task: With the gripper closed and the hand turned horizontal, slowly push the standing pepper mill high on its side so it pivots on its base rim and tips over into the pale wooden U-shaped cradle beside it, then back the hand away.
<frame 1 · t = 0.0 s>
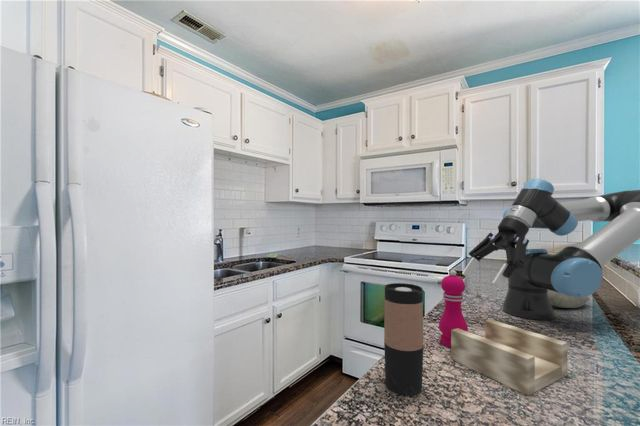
hand: (479, 280, 90), 15 cm above the countertop, tool tilted 35°, fingers open, 13 cm apart
travel mug: (403, 386, 61), on the countertop
rock: (564, 306, 117), on the countertop
pepper mill: (453, 344, 81), on the countertop
u rest: (506, 366, 69), on the countertop
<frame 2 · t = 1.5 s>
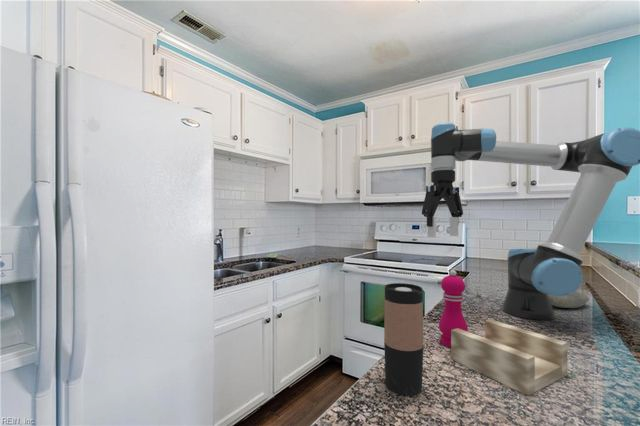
hand: (443, 236, 101), 28 cm above the countertop, tool pointing down, fingers open, 10 cm apart
nothing on the countertop moved.
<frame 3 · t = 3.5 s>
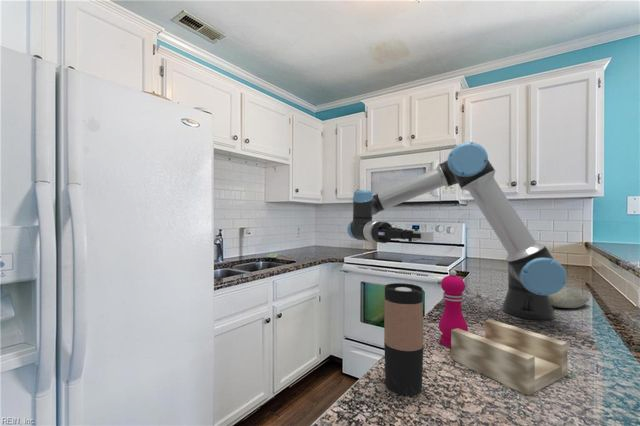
hand: (431, 236, 88), 29 cm above the countertop, tool horizontal, fingers closed
nothing on the countertop moved.
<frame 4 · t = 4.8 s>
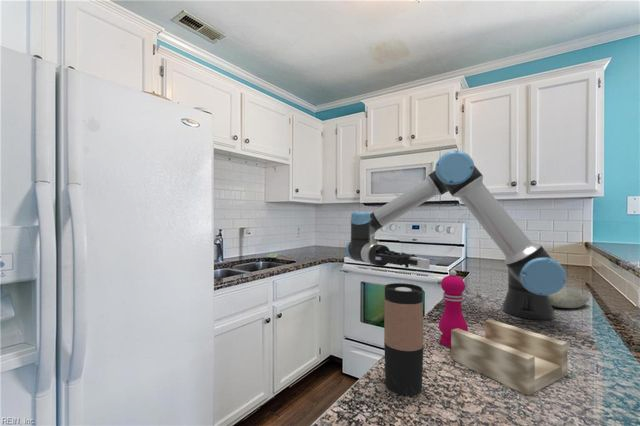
hand: (427, 264, 89), 20 cm above the countertop, tool horizontal, fingers closed
nothing on the countertop moved.
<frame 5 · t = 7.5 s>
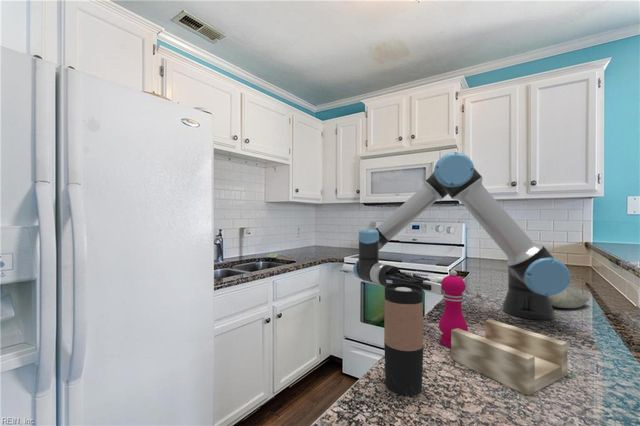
hand: (442, 289, 84), 14 cm above the countertop, tool horizontal, fingers closed
pepper mill: (453, 344, 81), on the countertop, touching gripper
everything else where it was.
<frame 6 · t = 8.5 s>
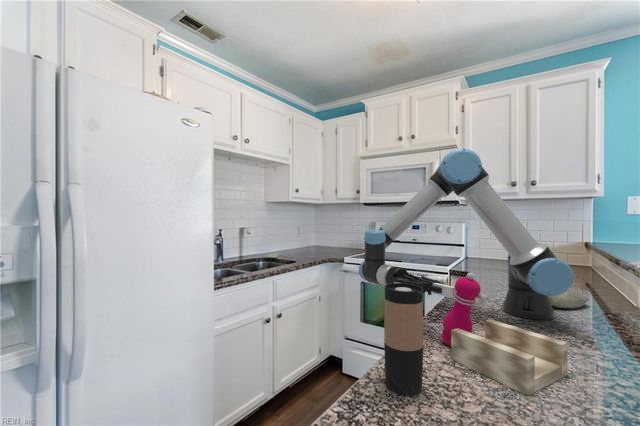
hand: (453, 292, 81), 14 cm above the countertop, tool horizontal, fingers closed
pepper mill: (453, 341, 81), point 1 cm above the countertop
everything else where it was.
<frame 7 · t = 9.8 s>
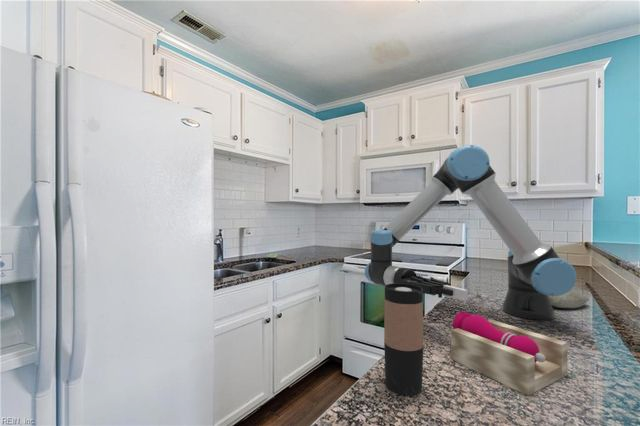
hand: (466, 295, 78), 14 cm above the countertop, tool horizontal, fingers closed
pepper mill: (460, 322, 79), point 6 cm above the countertop, touching u rest
everything else where it was.
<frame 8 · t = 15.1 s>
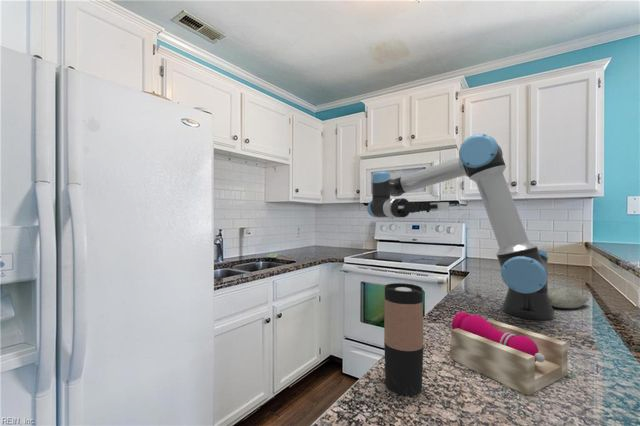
hand: (447, 206, 100), 38 cm above the countertop, tool horizontal, fingers closed
nothing on the countertop moved.
at the end: pepper mill tilted 93°; pepper mill touching u rest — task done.
